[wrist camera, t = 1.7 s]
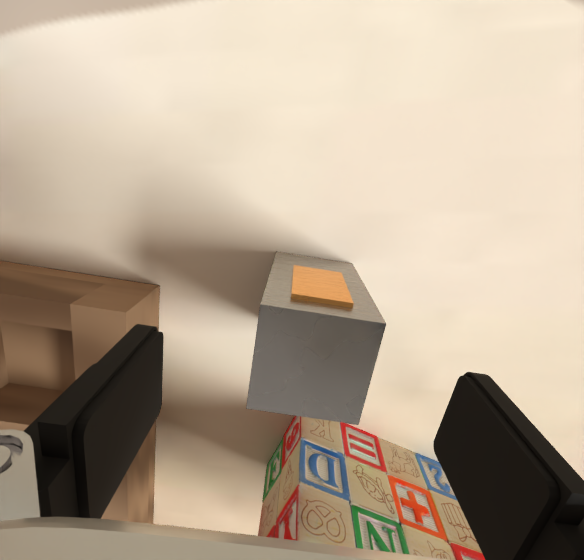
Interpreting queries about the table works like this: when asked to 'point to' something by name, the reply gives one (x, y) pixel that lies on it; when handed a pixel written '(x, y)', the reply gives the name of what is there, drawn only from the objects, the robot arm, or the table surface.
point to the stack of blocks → (361, 494)
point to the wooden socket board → (70, 354)
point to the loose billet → (314, 340)
